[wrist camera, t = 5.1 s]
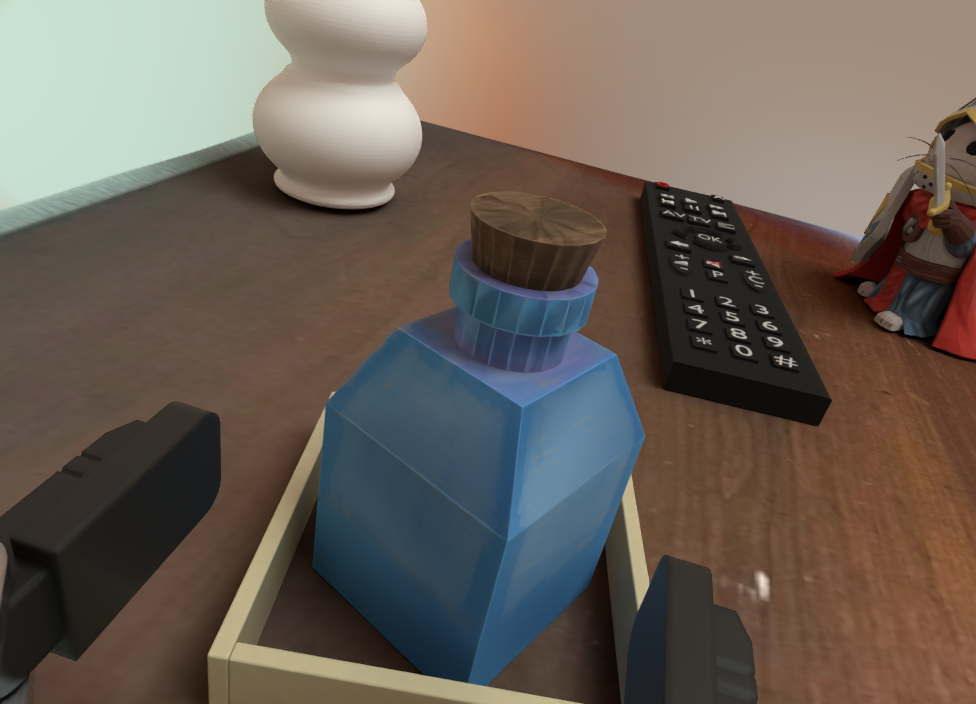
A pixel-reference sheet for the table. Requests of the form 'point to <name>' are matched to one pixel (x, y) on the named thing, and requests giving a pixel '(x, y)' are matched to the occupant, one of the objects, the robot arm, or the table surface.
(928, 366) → the table surface
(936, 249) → the figurine
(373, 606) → the perfume bottle
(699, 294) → the remote control
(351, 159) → the vase
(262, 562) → the holder
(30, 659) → the robot arm
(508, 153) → the table surface
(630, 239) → the table surface
